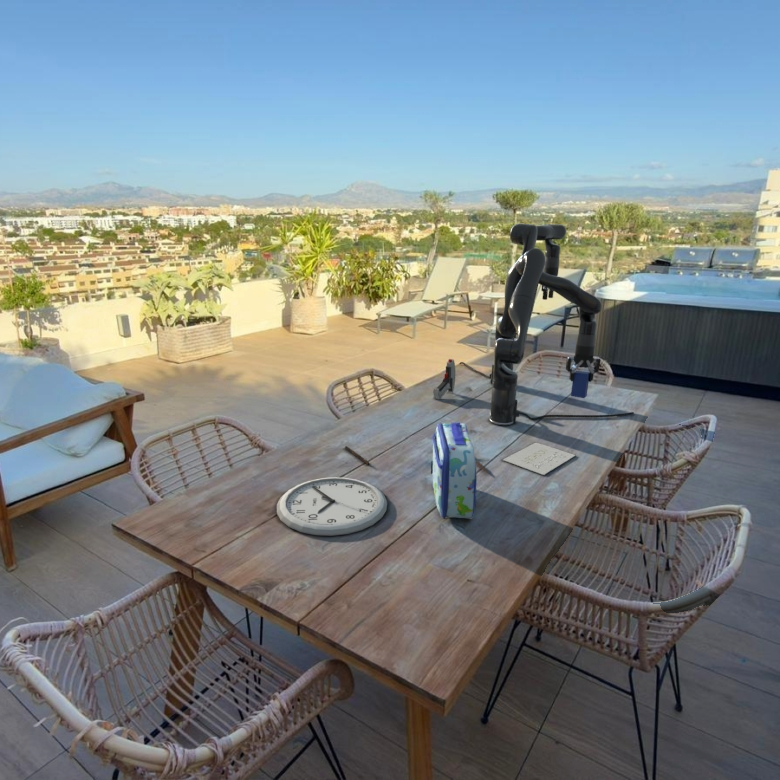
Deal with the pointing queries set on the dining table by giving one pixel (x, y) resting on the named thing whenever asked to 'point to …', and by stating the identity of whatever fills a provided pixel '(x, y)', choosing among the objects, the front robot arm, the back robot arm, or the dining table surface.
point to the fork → (481, 466)
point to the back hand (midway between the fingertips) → (547, 298)
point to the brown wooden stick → (357, 455)
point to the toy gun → (446, 381)
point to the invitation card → (539, 458)
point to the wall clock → (331, 506)
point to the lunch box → (454, 471)
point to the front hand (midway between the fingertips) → (580, 381)
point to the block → (580, 384)
